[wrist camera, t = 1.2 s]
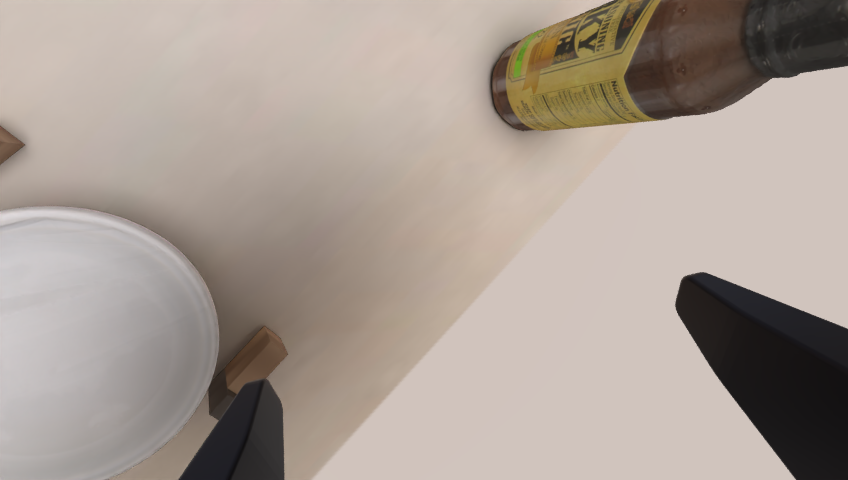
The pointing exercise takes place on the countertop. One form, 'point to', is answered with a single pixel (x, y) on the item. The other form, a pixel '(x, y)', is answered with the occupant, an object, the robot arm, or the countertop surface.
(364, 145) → the countertop surface
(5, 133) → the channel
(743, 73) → the sauce bottle
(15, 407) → the ramekin
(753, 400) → the robot arm
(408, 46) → the countertop surface
